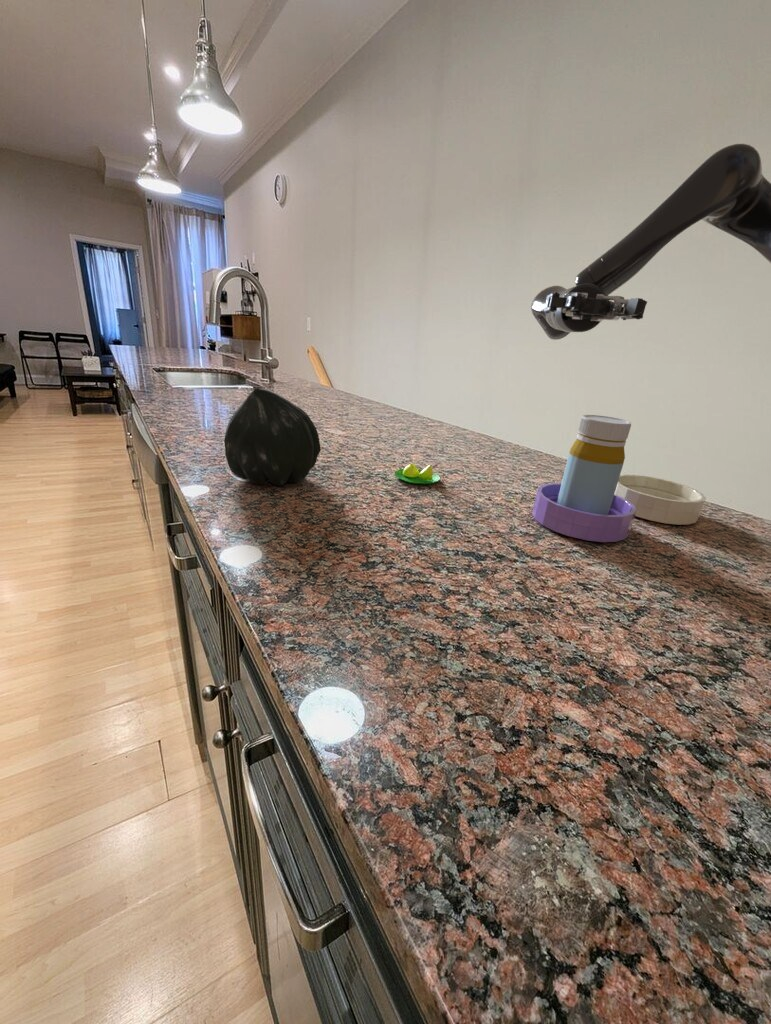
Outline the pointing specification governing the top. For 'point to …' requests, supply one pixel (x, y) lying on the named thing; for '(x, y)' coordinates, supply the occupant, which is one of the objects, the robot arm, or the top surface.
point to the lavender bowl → (583, 517)
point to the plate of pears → (417, 475)
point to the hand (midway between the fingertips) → (608, 303)
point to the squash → (270, 440)
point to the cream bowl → (661, 499)
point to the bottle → (594, 464)
